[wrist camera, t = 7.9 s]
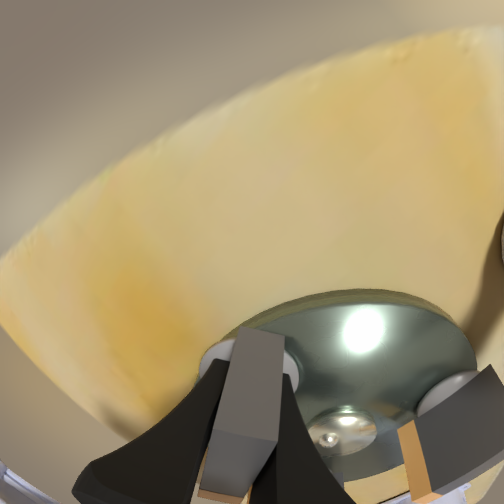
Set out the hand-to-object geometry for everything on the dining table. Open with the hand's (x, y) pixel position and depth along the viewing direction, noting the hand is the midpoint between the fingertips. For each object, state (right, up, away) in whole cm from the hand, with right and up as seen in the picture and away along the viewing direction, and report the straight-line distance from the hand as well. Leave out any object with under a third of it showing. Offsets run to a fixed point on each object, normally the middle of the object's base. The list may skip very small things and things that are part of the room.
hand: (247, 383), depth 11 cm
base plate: (+5, -3, +3) cm, 6 cm away
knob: (0, 0, +1) cm, 1 cm away
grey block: (+10, -2, 0) cm, 10 cm away
